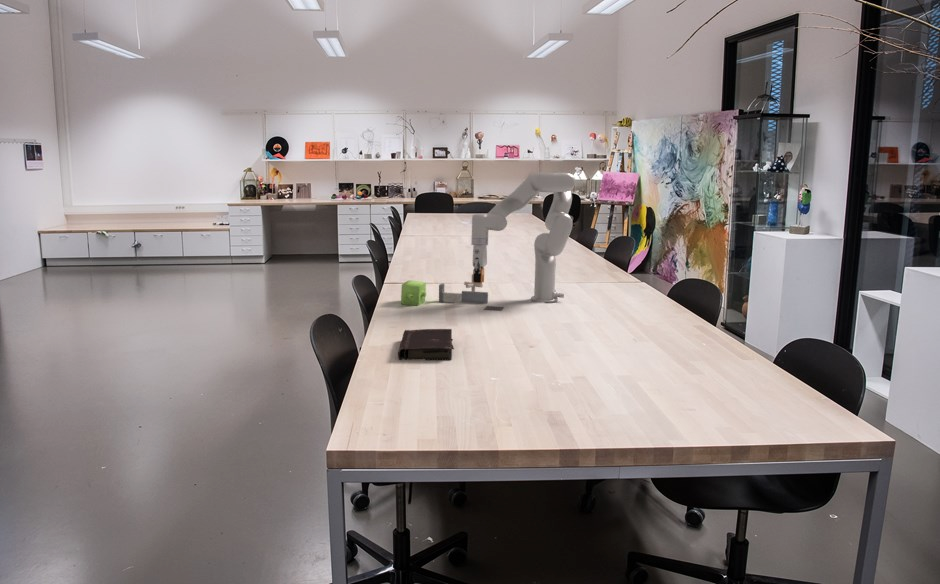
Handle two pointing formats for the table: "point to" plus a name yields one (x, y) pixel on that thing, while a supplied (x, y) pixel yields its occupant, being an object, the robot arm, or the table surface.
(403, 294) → the green square teapot
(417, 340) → the diary
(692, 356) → the table surface
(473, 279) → the clip
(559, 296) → the robot arm
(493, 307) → the pad
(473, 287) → the pipe connector
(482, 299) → the rail
